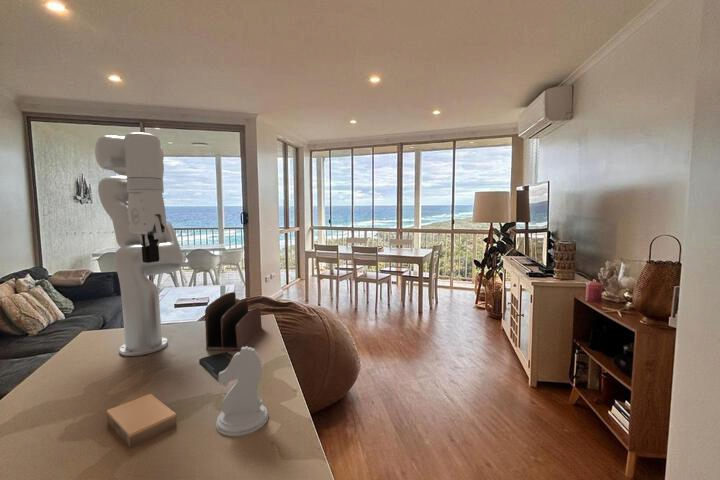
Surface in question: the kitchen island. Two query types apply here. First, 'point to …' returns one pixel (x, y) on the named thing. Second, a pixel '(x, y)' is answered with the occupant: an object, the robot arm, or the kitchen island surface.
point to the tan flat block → (141, 419)
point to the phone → (216, 363)
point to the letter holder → (230, 323)
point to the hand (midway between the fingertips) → (151, 261)
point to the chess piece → (242, 395)
